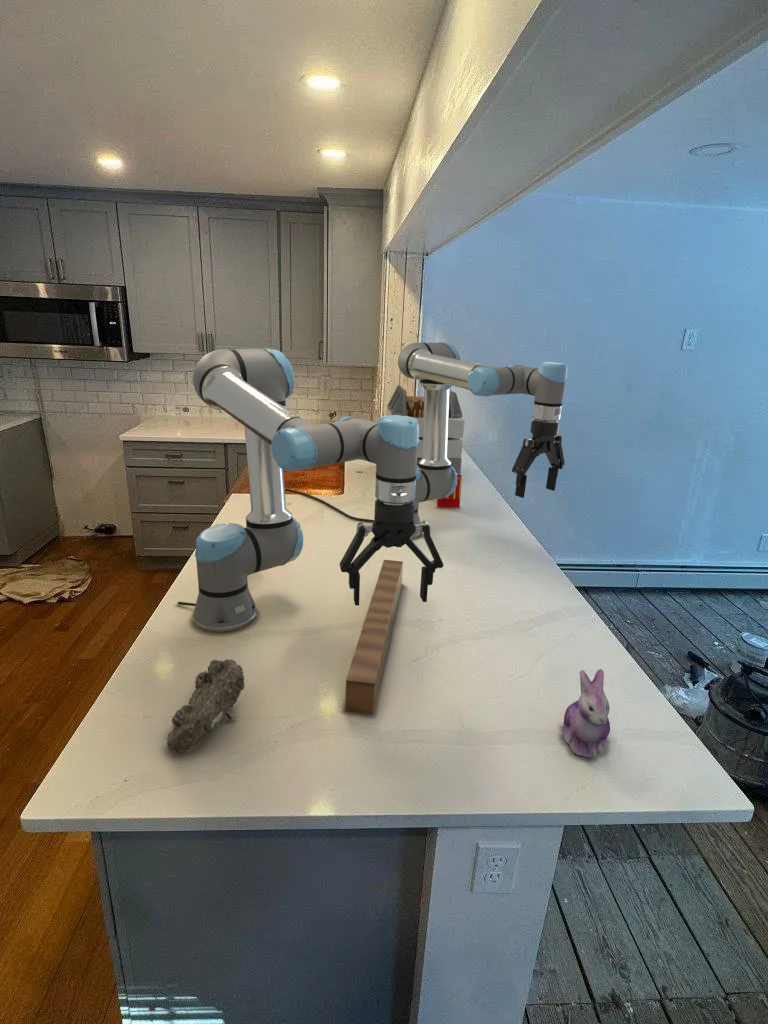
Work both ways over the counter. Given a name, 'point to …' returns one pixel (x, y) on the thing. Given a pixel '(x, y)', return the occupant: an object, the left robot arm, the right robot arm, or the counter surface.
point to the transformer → (415, 409)
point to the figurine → (588, 717)
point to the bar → (374, 641)
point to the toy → (452, 497)
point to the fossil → (206, 705)
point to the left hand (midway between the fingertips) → (390, 600)
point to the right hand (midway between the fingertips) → (535, 493)
